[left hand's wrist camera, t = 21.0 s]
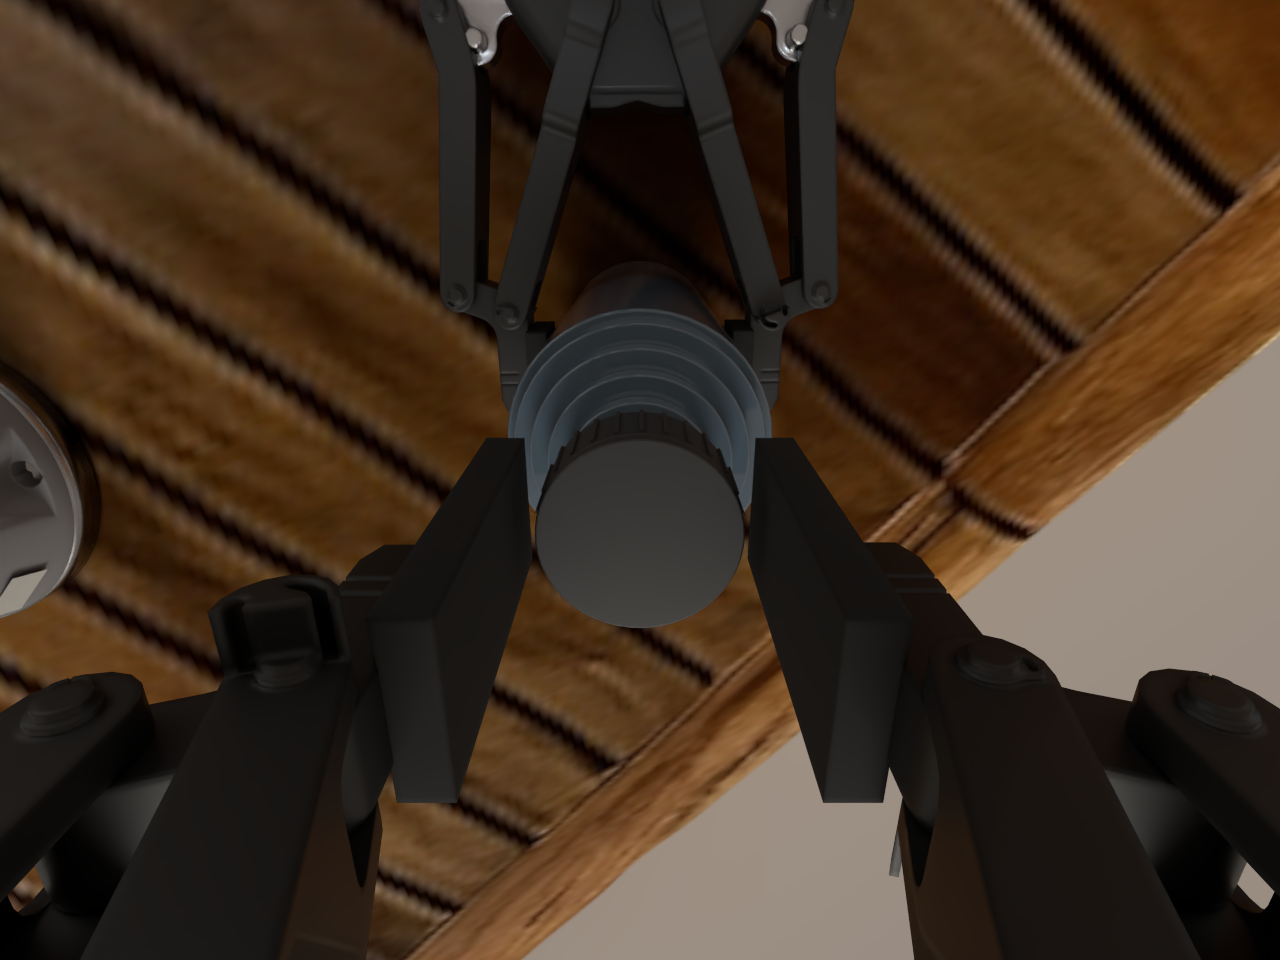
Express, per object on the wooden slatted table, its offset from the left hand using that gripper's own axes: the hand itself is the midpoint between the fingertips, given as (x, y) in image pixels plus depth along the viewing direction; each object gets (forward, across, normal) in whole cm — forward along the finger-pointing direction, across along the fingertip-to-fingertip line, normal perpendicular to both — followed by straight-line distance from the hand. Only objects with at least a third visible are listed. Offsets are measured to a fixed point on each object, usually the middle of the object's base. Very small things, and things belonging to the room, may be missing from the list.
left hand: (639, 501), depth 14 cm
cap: (-1, 0, 0) cm, 1 cm away
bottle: (+20, 0, 0) cm, 20 cm away
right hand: (+13, 0, -5) cm, 14 cm away
